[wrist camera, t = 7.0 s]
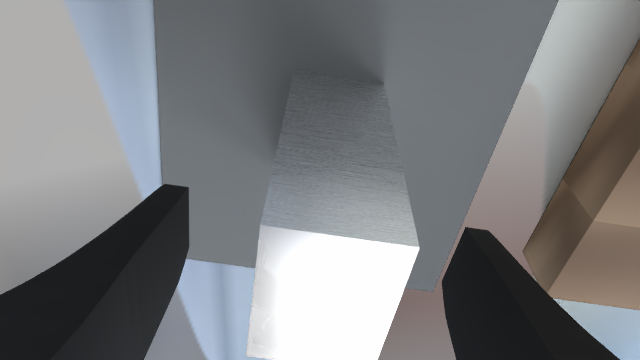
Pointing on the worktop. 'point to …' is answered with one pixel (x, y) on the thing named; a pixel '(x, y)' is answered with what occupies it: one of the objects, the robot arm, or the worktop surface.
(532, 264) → the block
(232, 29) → the mat
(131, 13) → the worktop surface
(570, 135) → the worktop surface
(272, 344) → the steel peg
